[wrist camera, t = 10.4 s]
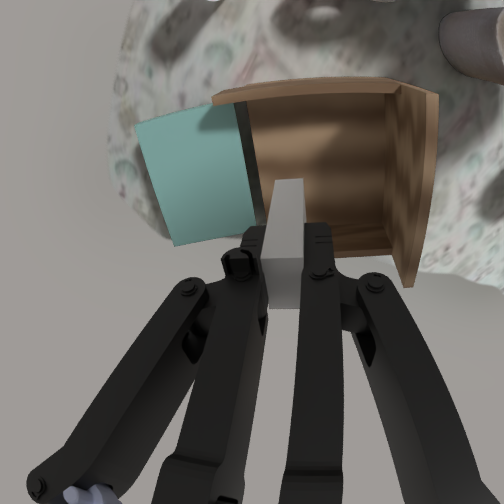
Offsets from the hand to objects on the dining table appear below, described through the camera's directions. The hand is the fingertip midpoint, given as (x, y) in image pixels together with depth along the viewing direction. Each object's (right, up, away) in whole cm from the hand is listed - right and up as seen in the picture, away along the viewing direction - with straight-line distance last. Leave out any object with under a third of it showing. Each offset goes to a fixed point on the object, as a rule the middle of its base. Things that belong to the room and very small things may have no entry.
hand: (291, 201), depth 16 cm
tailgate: (-3, +8, +20) cm, 22 cm away
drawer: (+7, +10, +21) cm, 24 cm away
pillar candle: (+26, +25, +7) cm, 37 cm away
